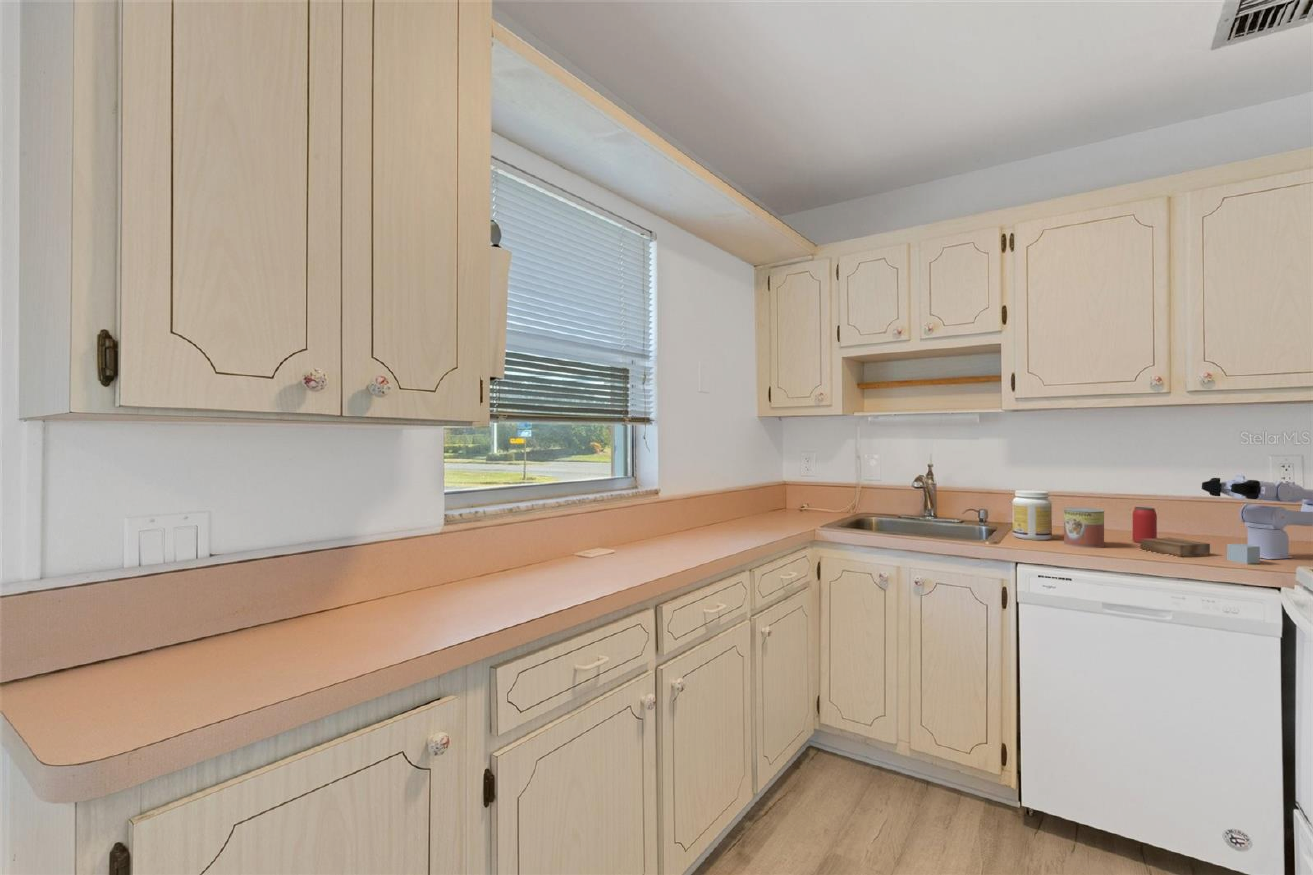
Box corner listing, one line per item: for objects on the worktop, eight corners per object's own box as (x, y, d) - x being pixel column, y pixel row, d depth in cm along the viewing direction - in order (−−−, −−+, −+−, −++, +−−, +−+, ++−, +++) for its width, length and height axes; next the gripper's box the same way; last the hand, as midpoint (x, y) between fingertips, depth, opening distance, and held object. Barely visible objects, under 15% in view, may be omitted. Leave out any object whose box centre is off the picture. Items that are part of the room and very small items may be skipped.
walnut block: (1168, 549, 200) (1168, 537, 200) (1209, 556, 189) (1209, 543, 189) (1140, 551, 197) (1140, 539, 197) (1180, 558, 186) (1180, 545, 186)
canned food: (1056, 543, 210) (1056, 508, 210) (1077, 541, 214) (1077, 507, 214) (1090, 549, 199) (1090, 512, 199) (1112, 546, 204) (1112, 510, 204)
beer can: (1161, 544, 207) (1161, 509, 207) (1139, 544, 208) (1139, 508, 208) (1149, 541, 213) (1149, 507, 213) (1128, 540, 215) (1128, 506, 215)
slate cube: (1239, 560, 181) (1239, 543, 181) (1259, 563, 177) (1259, 546, 177) (1227, 561, 180) (1227, 544, 180) (1247, 564, 175) (1247, 547, 175)
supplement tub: (1050, 536, 223) (1050, 490, 223) (1053, 541, 213) (1053, 493, 213) (1011, 534, 229) (1011, 489, 229) (1013, 539, 218) (1013, 492, 218)
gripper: (1224, 475, 192) (1191, 472, 188) (1281, 478, 178) (1247, 474, 174) (1222, 497, 192) (1190, 494, 188) (1279, 502, 178) (1245, 499, 174)
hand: (1217, 486), depth 181 cm, fingers open, 7 cm apart
